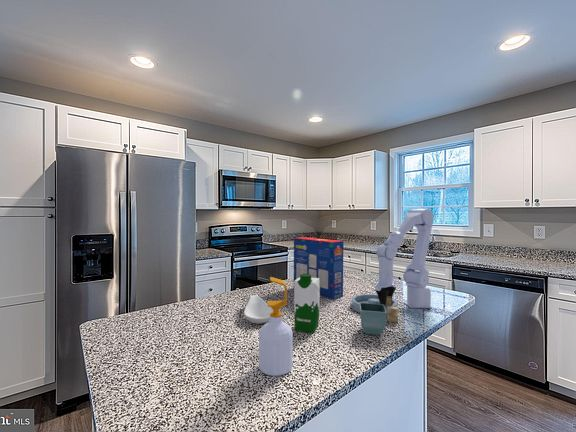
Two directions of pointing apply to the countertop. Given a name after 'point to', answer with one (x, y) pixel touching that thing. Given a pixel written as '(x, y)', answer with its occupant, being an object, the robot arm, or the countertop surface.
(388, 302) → the bead
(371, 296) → the ring tray
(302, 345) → the countertop surface
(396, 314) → the bead
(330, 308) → the countertop surface
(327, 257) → the pasta box
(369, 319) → the flower pot
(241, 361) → the countertop surface
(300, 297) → the milk carton
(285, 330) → the soap bottle
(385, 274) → the robot arm
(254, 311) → the spoon rest
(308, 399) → the countertop surface
